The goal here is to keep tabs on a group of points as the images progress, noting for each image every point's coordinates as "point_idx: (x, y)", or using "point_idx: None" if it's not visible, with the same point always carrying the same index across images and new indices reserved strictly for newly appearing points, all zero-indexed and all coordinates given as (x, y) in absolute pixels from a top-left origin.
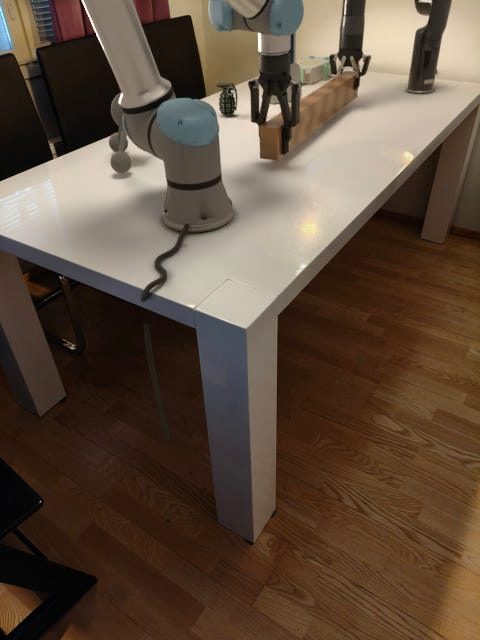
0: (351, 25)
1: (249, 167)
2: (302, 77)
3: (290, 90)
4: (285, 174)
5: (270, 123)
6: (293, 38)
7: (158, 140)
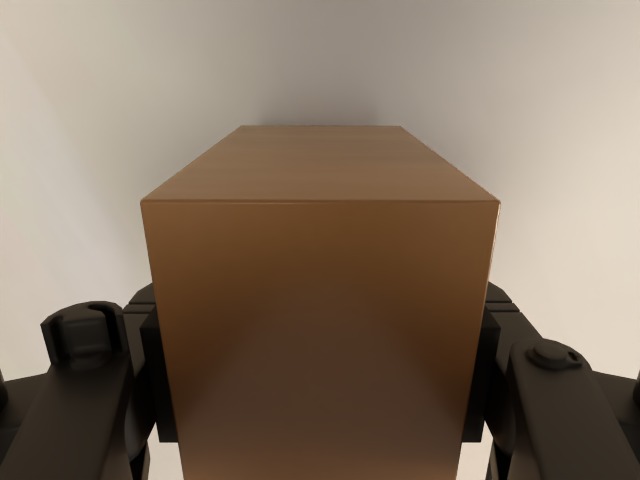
0: None
1: (475, 119)
2: None
3: None
4: (179, 90)
5: (371, 381)
6: None
7: None
